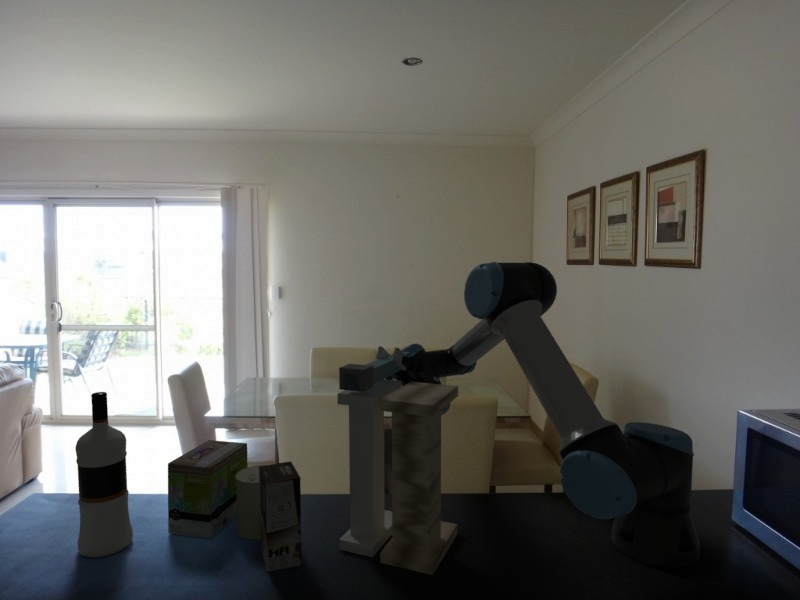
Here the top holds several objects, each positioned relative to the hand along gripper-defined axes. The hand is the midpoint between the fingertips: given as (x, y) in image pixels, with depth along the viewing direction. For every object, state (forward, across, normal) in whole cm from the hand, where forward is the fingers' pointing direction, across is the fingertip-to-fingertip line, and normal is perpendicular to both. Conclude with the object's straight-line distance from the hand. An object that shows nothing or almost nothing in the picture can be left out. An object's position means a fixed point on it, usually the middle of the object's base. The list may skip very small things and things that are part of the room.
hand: (387, 353), depth 110 cm
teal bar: (+1, 0, -5) cm, 5 cm away
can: (-6, +22, -38) cm, 44 cm away
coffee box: (0, +12, -41) cm, 43 cm away
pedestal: (-10, -11, -35) cm, 38 cm away
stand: (-11, 0, -34) cm, 36 cm away
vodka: (+9, +45, -46) cm, 65 cm away
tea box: (-5, +34, -38) cm, 52 cm away
